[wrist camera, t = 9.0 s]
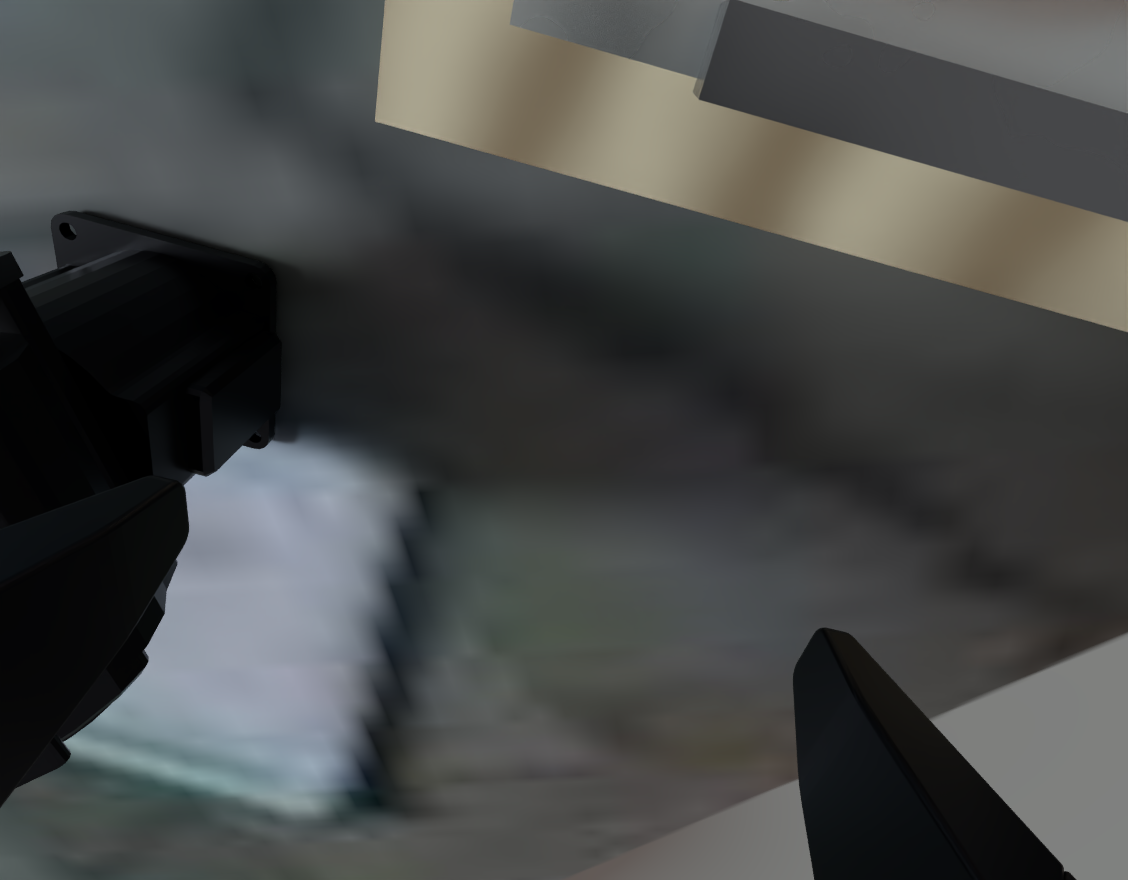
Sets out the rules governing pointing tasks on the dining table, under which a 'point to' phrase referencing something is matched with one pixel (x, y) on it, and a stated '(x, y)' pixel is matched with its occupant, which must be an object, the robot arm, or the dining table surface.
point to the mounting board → (734, 160)
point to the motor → (901, 77)
